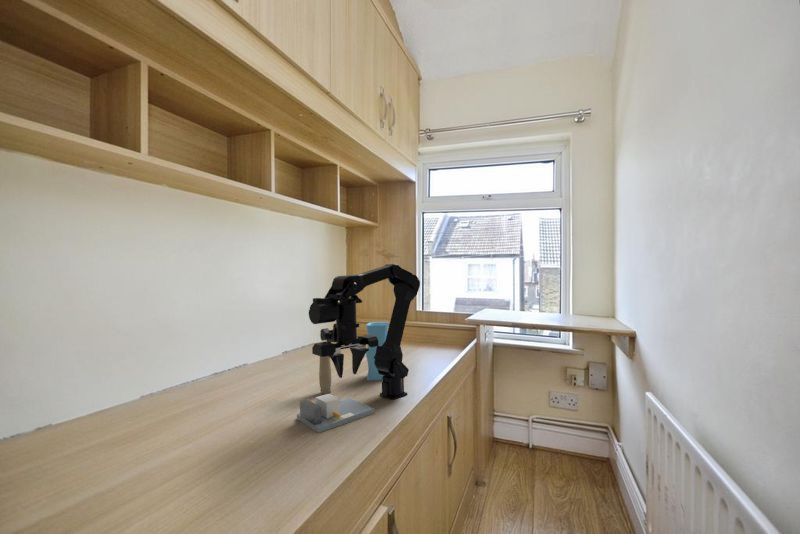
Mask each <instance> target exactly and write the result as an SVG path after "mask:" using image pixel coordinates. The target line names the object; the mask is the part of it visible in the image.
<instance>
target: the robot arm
mask: <svg viewBox="0 0 800 534" xmlns="http://www.w3.org/2000/svg"><path fill="white" fill-rule="evenodd" d="M385 280H388V281H389V283H390V284H391V285H393V294H394V298H395V301H394V305H393V308H392V313H391V316H390V321H389V324H388V329H387V336H386V340H385V343H384V344H383V345H382V346H379V342H378V338H377V337H376V336H371V335H368V334H364V335H357V334H358V328H360V323H358V322H357V304H362V303H363V300H362V299H361V298H360V297H359V296H358V294H359V293H361V292H362V291H363V290H364V289H365V288H367V286H370V285H373V284H377V283H380V282H381V281H385ZM420 286H421V281H420V279H419V277H418V276H417V274H416V275H415V274H414V273H412V272H410V271H408V270H406V269H404V268H402V267H401V266H400V265H398V264H397V263H389V264H384V265H383V266H380V267H376V268H372V269H371V270H367V271H364V272H361V273H358V274H357V273H356V274H346V275H337V276H335V277H334V278H333V280H332V283H331V286H330V288H329V289H328V291H327V293H326V294H325V296H324V297H323V298H322V297H321V298H320V297H314V298H312V303H311V304H310V306H309V309H308V319H309V320H310V322H311V323H312V324H313V325H319V324H327V323H333V325H332V328H333V329H329V328H321V329H320V330H319V331H320V333H319V336H320V340H321V342H315V343H314V344H313V346H312V348H311V350H312V355H316V356H318V357H320V356H321V357H326V356H329V357H330V361H332V363H333V366H334V369H335V371H336V373H337V375H338V378H340V379H342V378H343V373H344V361H345V360H344V359H345V354H344V353H342V352H341V350H345V349H349V350H350V352H351V357H352V358H351V363H352V364H351V369H352V374H353V375H357V373H358V371H359V368H360V366H361V364H362V361H363V359H364V358H365V356H366V352H367V351H369V349H367V347H368V346H369V347H376V346H377V348H376V354H375V356H374V359H375V362H374V364H375V366H376V368H377V370H378V373H379V374H380V375H384V376H382V380H381V392H379V396H381V397H382V396H383V397H384V398H386V399H390V400H396V399H399V398H401V397H405V396H408V392H406V391H405V378H406V377H408V375H409V371H410V370H409V368H408V367H407V366H406V365H405V364H404V363H403V355H404V354H403V350H402V347H401V344H402V340H403V335H404V330H405V328H406V327H405V326H406V323H407V318H408V314H409V310H410V305H411V302H412V301H413V300H414V299H415V297H416V296H418V292H419V290H420ZM334 322H335V323H334Z"/></svg>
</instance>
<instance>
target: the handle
mask: <svg viewBox="0 0 800 534" xmlns="http://www.w3.org/2000/svg"><path fill="white" fill-rule="evenodd" d="M331 366H332V365H331V358H330V357H329V356H326V357H321V356H319V367H318V368H319V371H318V373H319V374H318V375H319V378H318V379H319V381H318V382H319V388H320V389H319V390H320V393H321V394H322V395H326V394H331V392H332V389H331V387H332V367H331Z"/></svg>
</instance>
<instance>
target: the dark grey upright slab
mask: <svg viewBox="0 0 800 534" xmlns="http://www.w3.org/2000/svg"><path fill="white" fill-rule="evenodd" d="M299 413H300V417H302V418H304V419H305V420H307V421H308V422H310V423H311V424H313V425H318V424H320V423H322V409H321V406H319V405H317V404H316V402H313V401H311V400H310V399H308V398H306V399H303V400H299Z"/></svg>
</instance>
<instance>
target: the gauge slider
mask: <svg viewBox="0 0 800 534" xmlns="http://www.w3.org/2000/svg"><path fill="white" fill-rule="evenodd" d="M340 401H341V399H340V398H339V397H337V396H334V395H333V394H331V393H328V394H322V395H318V396H315V404H317V405H319V406H321V409H322V416H323V417H325V418H330V417H333V416H335V417H337V418H341V417H340Z"/></svg>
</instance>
